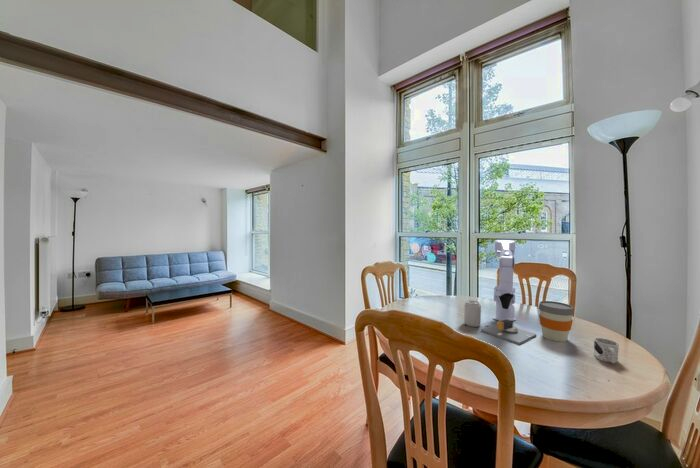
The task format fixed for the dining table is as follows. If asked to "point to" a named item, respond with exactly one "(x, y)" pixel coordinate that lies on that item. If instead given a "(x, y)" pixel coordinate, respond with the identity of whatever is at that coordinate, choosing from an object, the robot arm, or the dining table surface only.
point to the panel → (509, 334)
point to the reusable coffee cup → (555, 320)
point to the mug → (606, 350)
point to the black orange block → (507, 326)
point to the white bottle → (472, 313)
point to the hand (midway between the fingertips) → (505, 308)
